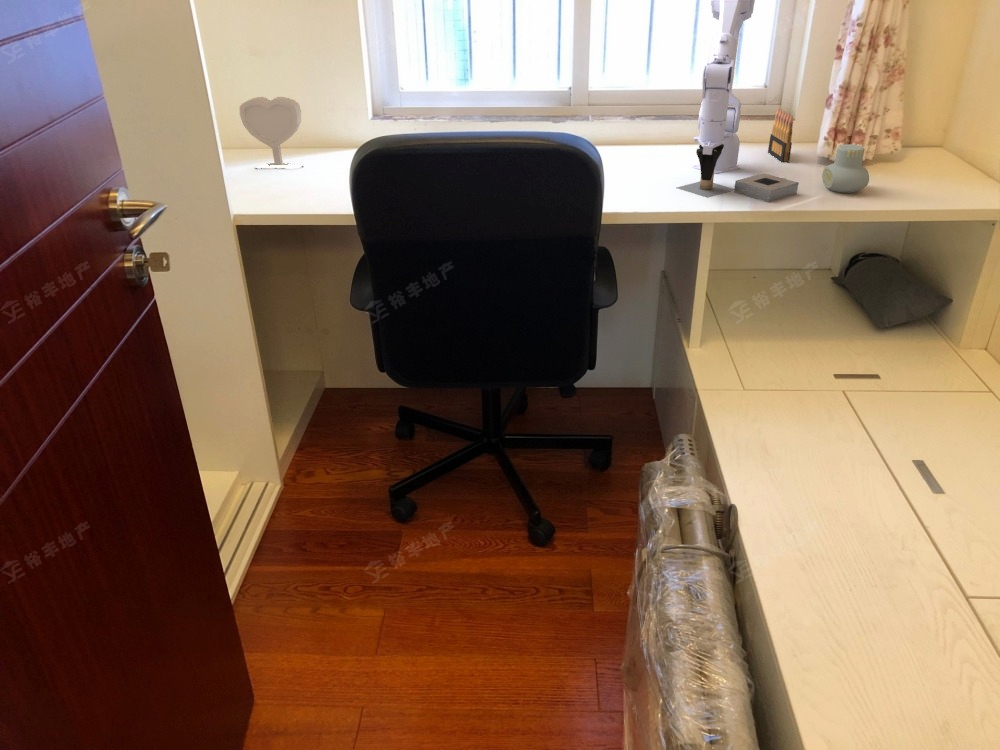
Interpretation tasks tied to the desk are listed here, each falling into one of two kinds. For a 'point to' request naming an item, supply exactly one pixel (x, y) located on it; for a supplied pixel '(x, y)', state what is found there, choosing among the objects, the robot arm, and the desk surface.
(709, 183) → the peg
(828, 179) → the air freshener
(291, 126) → the heart sculpture
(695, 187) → the mat
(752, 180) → the square hole block
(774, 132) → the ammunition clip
